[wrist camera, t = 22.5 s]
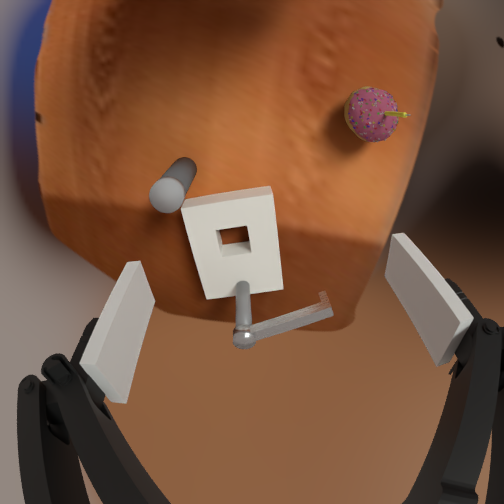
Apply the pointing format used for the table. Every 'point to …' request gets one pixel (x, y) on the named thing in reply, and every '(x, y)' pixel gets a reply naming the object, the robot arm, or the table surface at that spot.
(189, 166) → the plug
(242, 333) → the clip
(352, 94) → the cupcake
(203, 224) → the socket block
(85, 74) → the table surface
